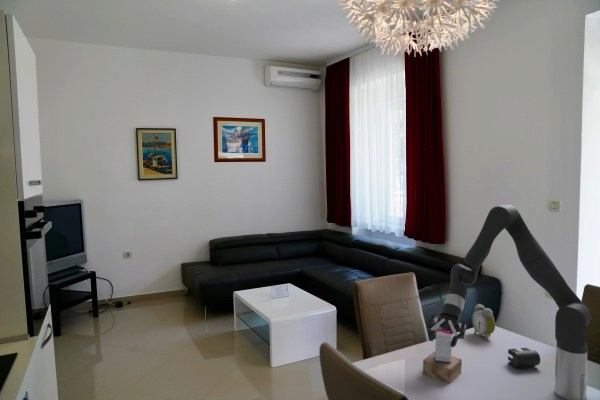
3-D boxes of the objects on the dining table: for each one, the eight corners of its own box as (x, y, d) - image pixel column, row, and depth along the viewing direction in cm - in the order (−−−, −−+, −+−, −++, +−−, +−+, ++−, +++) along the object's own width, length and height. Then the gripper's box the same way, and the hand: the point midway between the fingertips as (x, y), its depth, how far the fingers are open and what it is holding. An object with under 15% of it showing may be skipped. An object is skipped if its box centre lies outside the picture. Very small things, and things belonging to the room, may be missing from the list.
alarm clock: (470, 332, 204) (471, 302, 203) (483, 331, 205) (483, 302, 204) (485, 341, 193) (486, 310, 192) (498, 340, 194) (499, 309, 193)
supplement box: (451, 363, 159) (452, 335, 158) (435, 362, 160) (435, 333, 160) (450, 357, 164) (450, 329, 164) (434, 355, 166) (435, 328, 165)
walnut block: (461, 373, 163) (461, 359, 163) (450, 384, 155) (450, 369, 155) (434, 365, 171) (435, 351, 170) (422, 374, 162) (423, 360, 162)
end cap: (518, 371, 164) (518, 355, 164) (506, 363, 171) (507, 347, 171) (540, 369, 166) (541, 353, 166) (527, 361, 173) (528, 345, 173)
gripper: (433, 299, 171) (421, 334, 163) (468, 306, 162) (457, 343, 154) (438, 308, 176) (426, 342, 168) (472, 316, 166) (461, 352, 158)
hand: (441, 343), depth 161 cm, fingers open, 8 cm apart
